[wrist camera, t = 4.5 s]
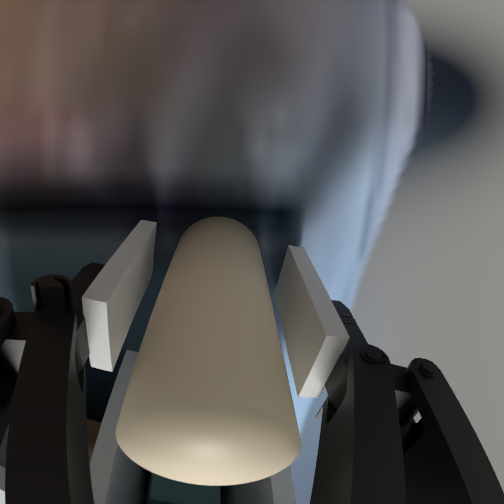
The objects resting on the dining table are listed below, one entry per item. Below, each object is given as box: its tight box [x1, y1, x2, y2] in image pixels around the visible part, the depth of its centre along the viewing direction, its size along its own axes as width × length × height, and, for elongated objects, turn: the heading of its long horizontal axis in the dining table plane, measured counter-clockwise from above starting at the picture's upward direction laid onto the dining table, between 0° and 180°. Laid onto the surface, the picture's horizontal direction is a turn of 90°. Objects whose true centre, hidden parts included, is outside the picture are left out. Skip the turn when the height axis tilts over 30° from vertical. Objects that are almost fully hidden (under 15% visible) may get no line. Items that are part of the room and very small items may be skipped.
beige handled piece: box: [115, 217, 301, 504], centre depth 14 cm, size 24×5×10 cm, turn 168°
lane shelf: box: [0, 350, 296, 504], centre depth 15 cm, size 19×17×11 cm
